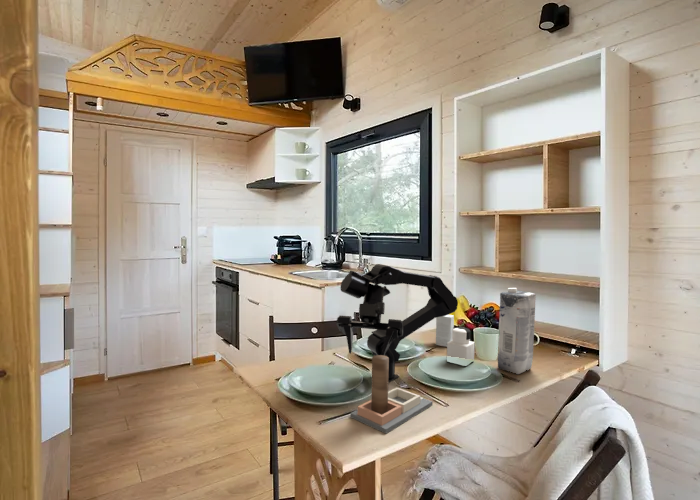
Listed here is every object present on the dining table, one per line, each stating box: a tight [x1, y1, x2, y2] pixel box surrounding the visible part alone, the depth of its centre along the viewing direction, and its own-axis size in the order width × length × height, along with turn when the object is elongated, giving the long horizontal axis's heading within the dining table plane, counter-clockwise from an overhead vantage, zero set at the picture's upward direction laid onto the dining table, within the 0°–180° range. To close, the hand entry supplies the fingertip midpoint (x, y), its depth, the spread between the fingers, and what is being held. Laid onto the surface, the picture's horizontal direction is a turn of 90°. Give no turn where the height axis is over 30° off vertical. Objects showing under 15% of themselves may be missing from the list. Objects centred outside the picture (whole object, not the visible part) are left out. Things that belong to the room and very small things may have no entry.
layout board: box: [350, 386, 434, 434], centre depth 101 cm, size 20×11×3 cm, turn 137°
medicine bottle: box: [446, 326, 475, 361], centre depth 138 cm, size 7×7×12 cm
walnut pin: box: [370, 355, 389, 415], centre depth 97 cm, size 4×4×14 cm
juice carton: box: [497, 287, 537, 375], centre depth 132 cm, size 9×10×27 cm
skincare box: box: [435, 314, 455, 348], centre depth 158 cm, size 6×4×12 cm
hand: (366, 354), depth 110 cm, fingers open, 9 cm apart
